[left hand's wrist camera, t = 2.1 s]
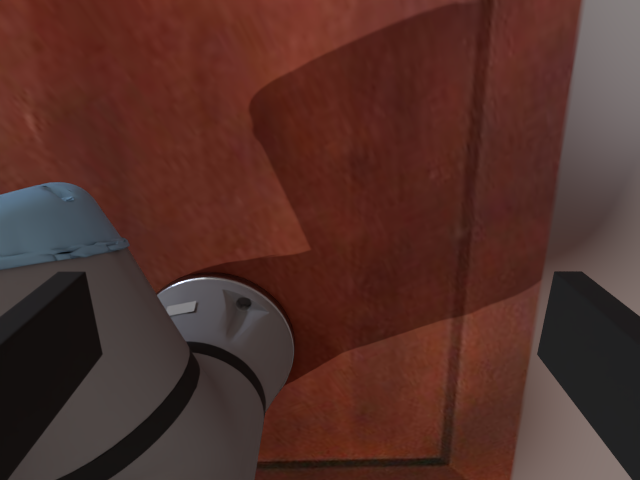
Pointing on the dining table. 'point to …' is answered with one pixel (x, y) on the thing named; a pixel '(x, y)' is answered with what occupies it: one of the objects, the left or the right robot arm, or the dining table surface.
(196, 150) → the dining table surface
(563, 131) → the dining table surface
